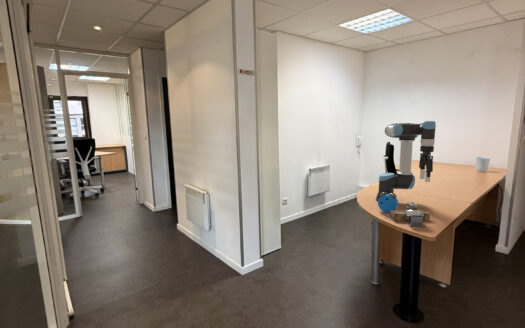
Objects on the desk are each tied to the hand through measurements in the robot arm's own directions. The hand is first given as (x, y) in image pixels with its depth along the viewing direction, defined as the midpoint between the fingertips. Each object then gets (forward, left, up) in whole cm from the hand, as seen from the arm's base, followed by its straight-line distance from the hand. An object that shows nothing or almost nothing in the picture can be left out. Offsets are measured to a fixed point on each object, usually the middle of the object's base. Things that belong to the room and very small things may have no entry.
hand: (424, 180), depth 181 cm
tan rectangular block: (-7, -6, -24) cm, 26 cm away
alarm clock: (-21, -16, -29) cm, 40 cm away
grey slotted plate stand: (+3, -5, -29) cm, 30 cm away
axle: (+3, -6, -24) cm, 24 cm away
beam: (-7, -4, -29) cm, 30 cm away
